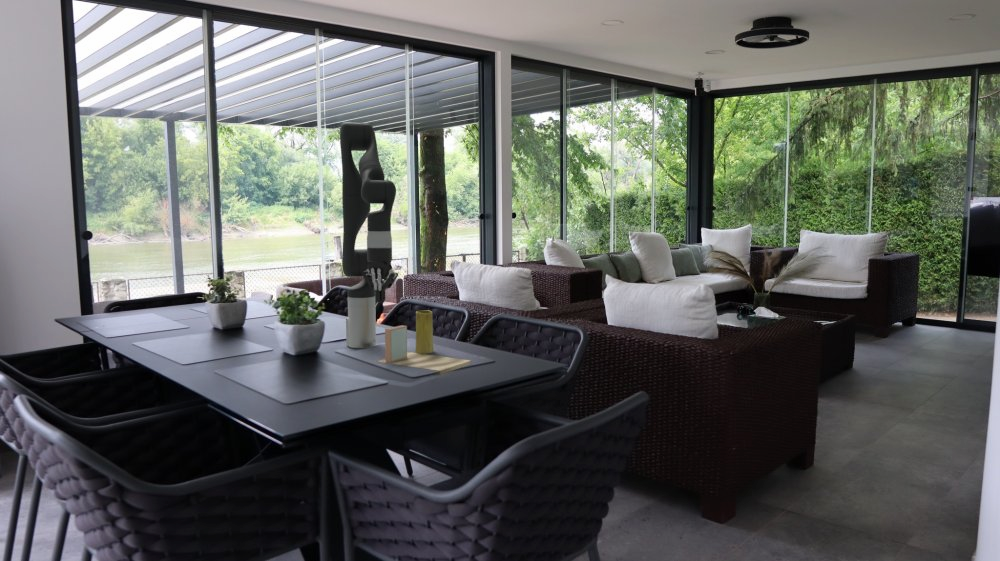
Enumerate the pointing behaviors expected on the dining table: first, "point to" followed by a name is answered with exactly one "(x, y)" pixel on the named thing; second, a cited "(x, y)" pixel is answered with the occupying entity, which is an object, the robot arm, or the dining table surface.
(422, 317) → the vase
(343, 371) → the dining table surface
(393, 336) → the tile
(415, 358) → the board
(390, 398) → the dining table surface
